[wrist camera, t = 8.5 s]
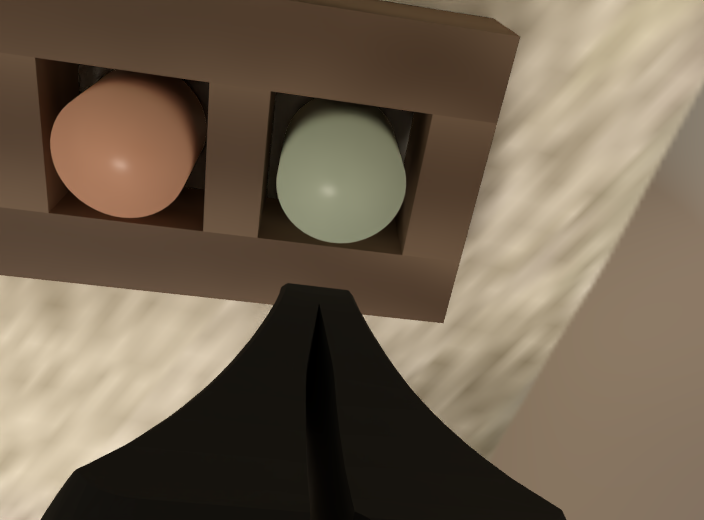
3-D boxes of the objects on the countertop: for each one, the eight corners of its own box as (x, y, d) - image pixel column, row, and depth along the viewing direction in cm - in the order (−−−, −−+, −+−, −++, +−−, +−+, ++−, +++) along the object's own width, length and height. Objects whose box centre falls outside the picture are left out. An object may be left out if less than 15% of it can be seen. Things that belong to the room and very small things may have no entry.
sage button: (385, 207, 21) (393, 249, 19) (277, 194, 21) (270, 235, 18) (406, 101, 20) (417, 132, 17) (289, 85, 19) (283, 113, 17)
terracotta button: (204, 184, 21) (186, 225, 18) (90, 170, 20) (55, 209, 18) (209, 73, 19) (189, 100, 16) (85, 55, 19) (44, 80, 16)
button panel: (430, 276, 23) (443, 323, 21) (-154, 208, 21) (-221, 250, 19) (493, 18, 19) (520, 36, 16) (-232, -98, 17) (-335, -98, 14)
